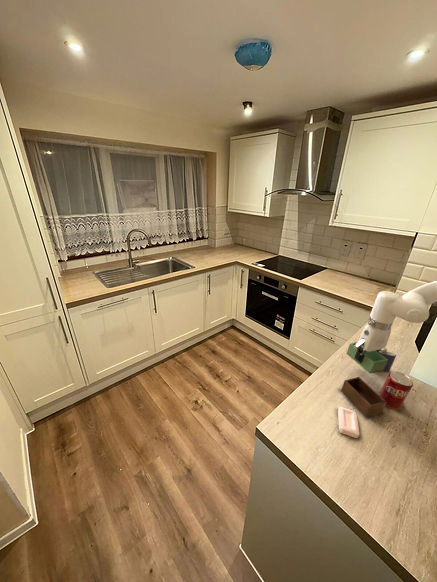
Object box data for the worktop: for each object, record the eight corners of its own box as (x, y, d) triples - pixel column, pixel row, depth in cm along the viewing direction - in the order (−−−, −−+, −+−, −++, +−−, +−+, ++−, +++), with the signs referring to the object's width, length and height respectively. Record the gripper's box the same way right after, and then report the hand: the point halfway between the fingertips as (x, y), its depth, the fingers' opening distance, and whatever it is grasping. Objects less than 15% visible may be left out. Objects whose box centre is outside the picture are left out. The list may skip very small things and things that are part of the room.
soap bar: (339, 433, 76) (341, 428, 75) (337, 410, 84) (339, 405, 83) (357, 439, 74) (359, 434, 73) (354, 415, 82) (356, 410, 81)
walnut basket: (340, 390, 92) (344, 380, 89) (355, 386, 94) (359, 376, 91) (366, 417, 82) (371, 406, 79) (381, 412, 83) (386, 402, 81)
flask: (388, 368, 104) (397, 349, 99) (390, 373, 101) (399, 354, 96) (365, 362, 107) (372, 343, 102) (365, 366, 104) (373, 347, 100)
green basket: (346, 353, 101) (349, 343, 99) (359, 350, 103) (362, 340, 101) (369, 373, 91) (374, 362, 89) (383, 370, 93) (388, 359, 91)
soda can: (377, 391, 92) (387, 368, 87) (399, 398, 89) (411, 374, 84) (379, 405, 86) (390, 381, 81) (402, 413, 83) (416, 389, 78)
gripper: (370, 331, 83) (355, 369, 91) (406, 325, 88) (389, 361, 96) (353, 320, 90) (341, 356, 97) (387, 314, 95) (373, 349, 102)
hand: (365, 358), depth 97 cm, fingers closed on green basket, 7 cm apart
